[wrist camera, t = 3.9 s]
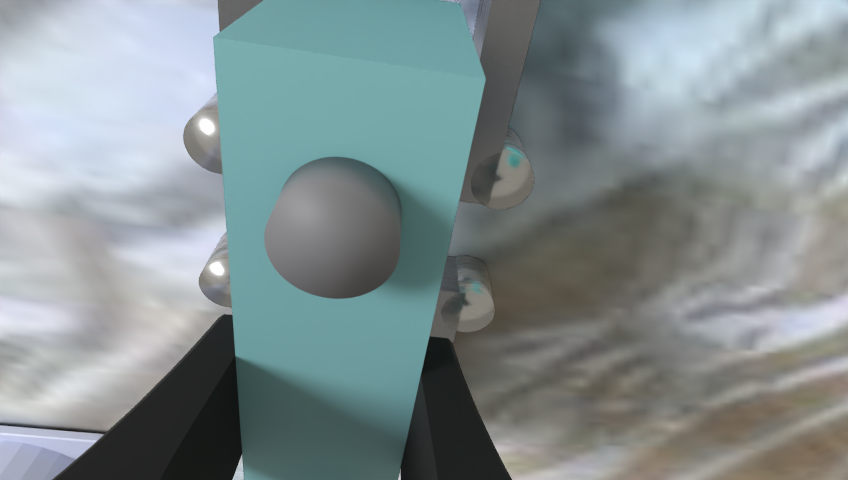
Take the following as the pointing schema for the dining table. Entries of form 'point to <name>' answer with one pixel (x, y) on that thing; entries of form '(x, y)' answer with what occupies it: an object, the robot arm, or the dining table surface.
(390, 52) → the teal studded beam
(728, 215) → the dining table surface
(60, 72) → the dining table surface
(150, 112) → the dining table surface
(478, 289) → the chain end
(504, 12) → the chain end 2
